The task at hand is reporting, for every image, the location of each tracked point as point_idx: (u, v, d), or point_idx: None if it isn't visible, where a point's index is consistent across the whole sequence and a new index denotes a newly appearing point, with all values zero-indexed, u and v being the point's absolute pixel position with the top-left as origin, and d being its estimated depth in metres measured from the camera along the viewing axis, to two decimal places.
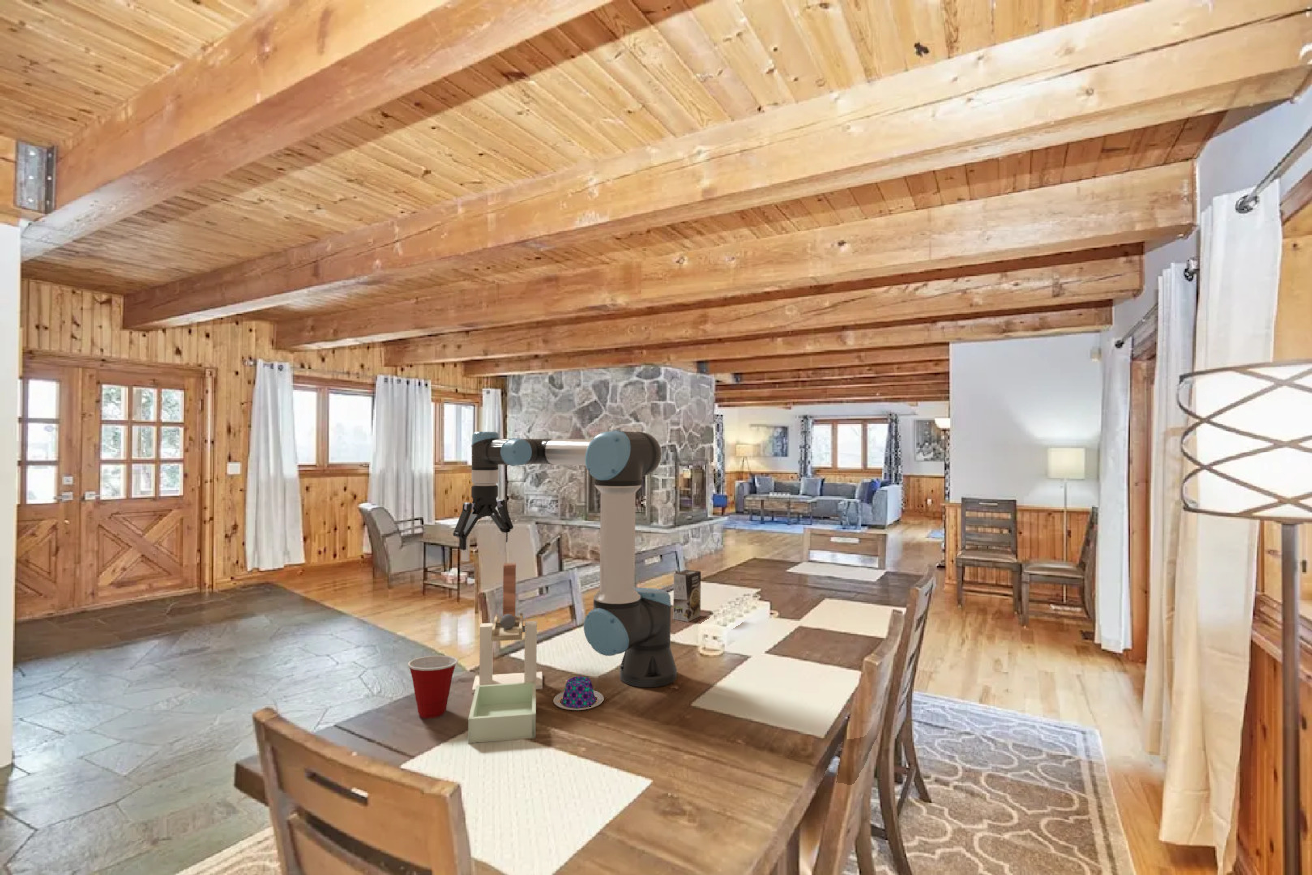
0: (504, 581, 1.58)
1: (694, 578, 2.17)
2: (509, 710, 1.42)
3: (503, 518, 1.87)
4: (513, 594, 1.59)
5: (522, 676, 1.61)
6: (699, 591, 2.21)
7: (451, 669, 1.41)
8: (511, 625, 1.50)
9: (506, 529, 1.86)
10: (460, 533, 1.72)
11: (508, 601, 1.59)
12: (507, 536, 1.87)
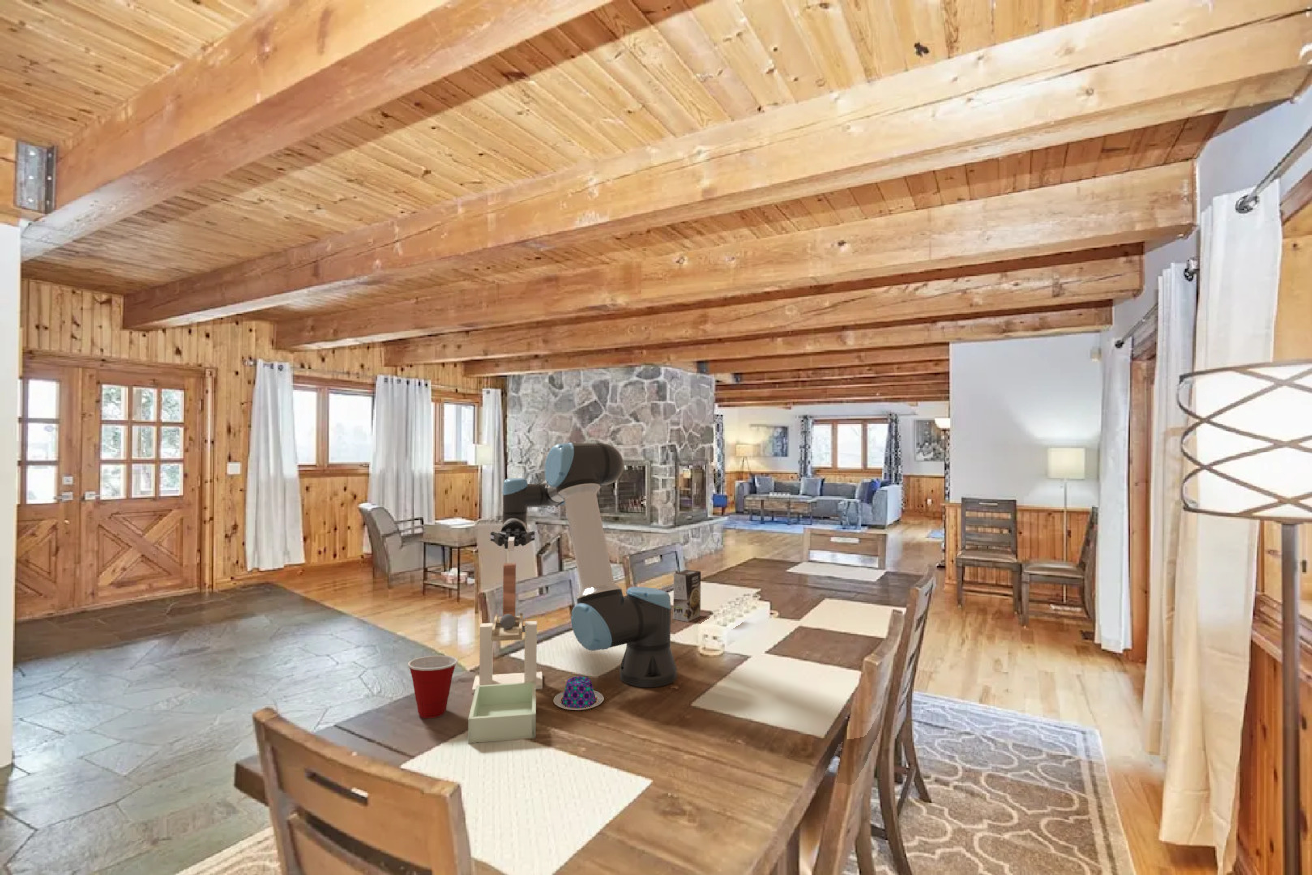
0: (504, 581, 1.58)
1: (694, 578, 2.17)
2: (509, 710, 1.42)
3: None
4: (513, 594, 1.59)
5: (522, 676, 1.61)
6: (699, 591, 2.21)
7: (451, 669, 1.41)
8: (511, 625, 1.50)
9: None
10: (499, 536, 1.73)
11: (508, 601, 1.59)
12: (518, 539, 1.71)
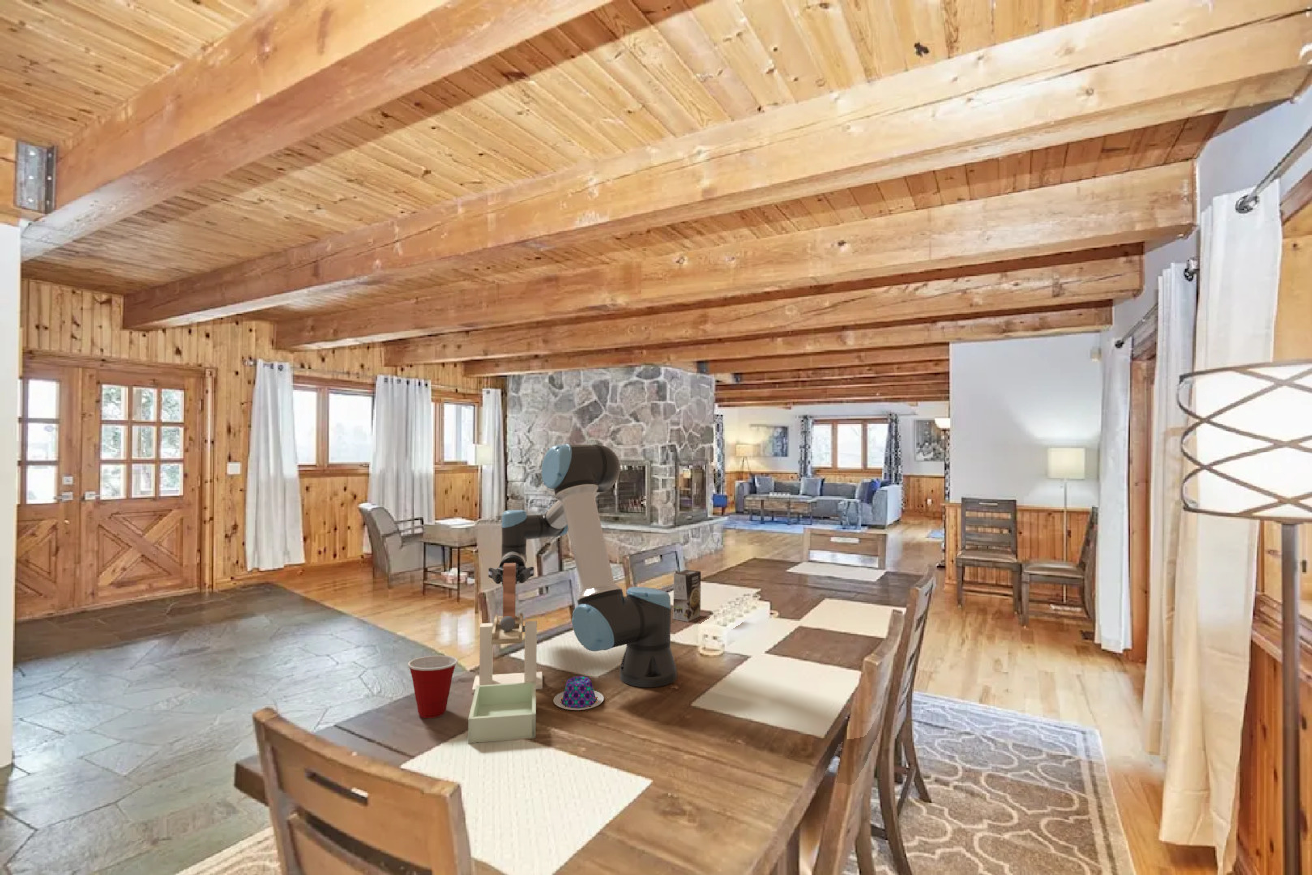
0: (504, 582, 1.58)
1: (694, 578, 2.17)
2: (509, 710, 1.42)
3: None
4: (513, 594, 1.58)
5: (522, 676, 1.61)
6: (699, 591, 2.21)
7: (451, 669, 1.41)
8: (511, 627, 1.50)
9: None
10: (497, 573, 1.69)
11: (508, 601, 1.58)
12: (516, 577, 1.67)
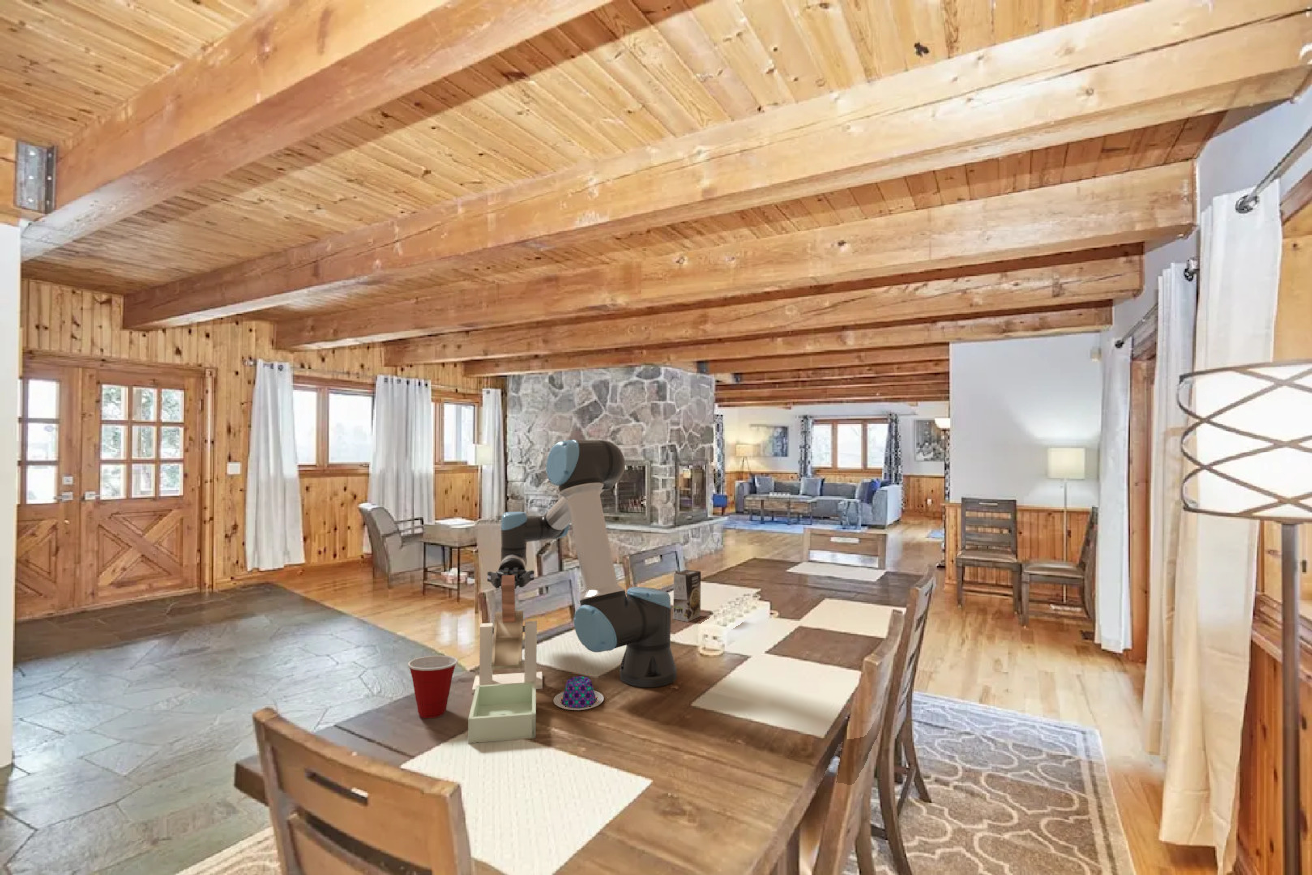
0: (502, 596, 1.51)
1: (694, 578, 2.17)
2: (509, 710, 1.42)
3: None
4: (512, 605, 1.54)
5: (522, 676, 1.61)
6: (699, 591, 2.21)
7: (451, 669, 1.41)
8: None
9: None
10: (496, 578, 1.63)
11: (507, 609, 1.54)
12: (516, 581, 1.61)
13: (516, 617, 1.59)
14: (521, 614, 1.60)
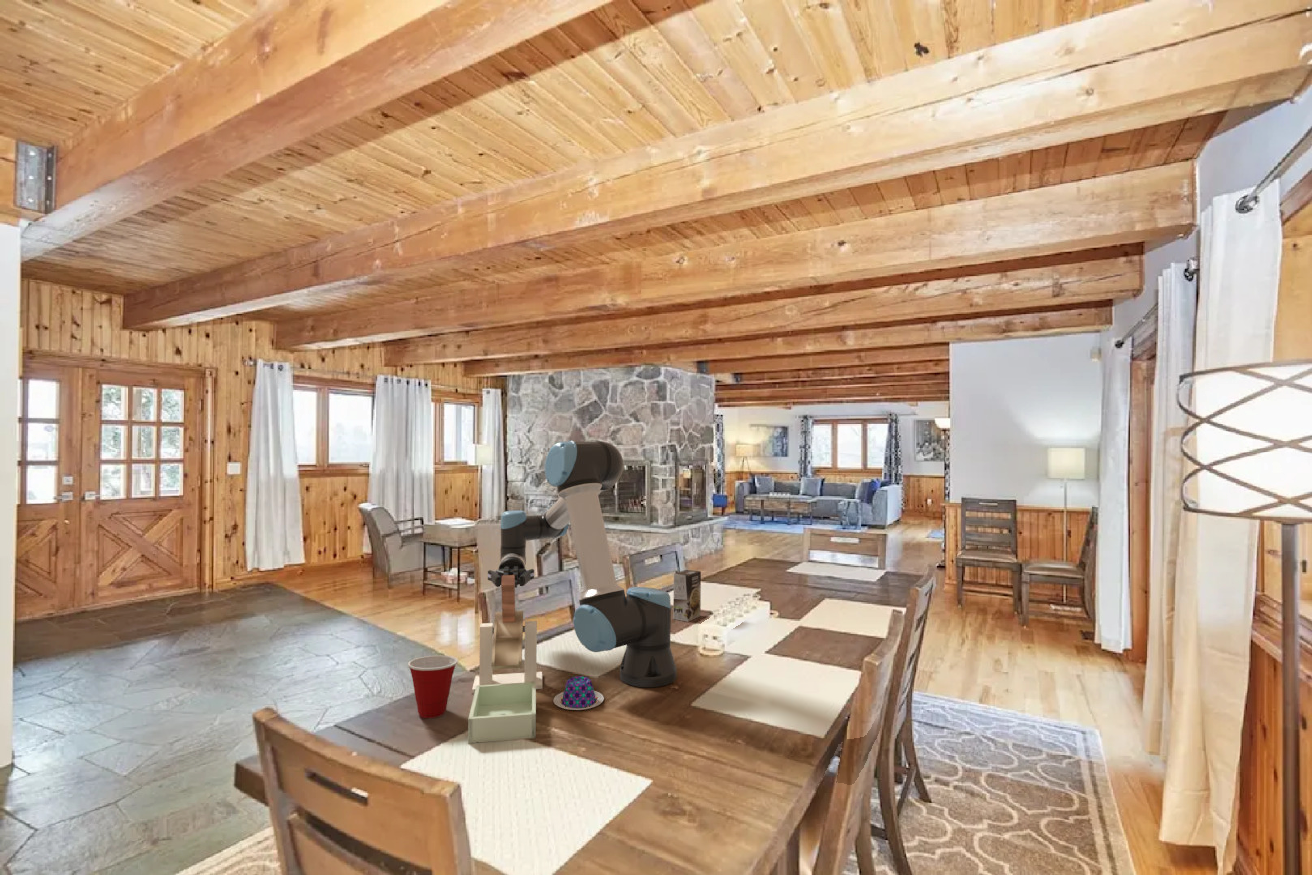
0: (502, 596, 1.51)
1: (694, 578, 2.17)
2: (509, 710, 1.42)
3: None
4: (512, 605, 1.54)
5: (522, 676, 1.61)
6: (699, 591, 2.21)
7: (451, 669, 1.41)
8: None
9: None
10: (497, 576, 1.65)
11: (507, 609, 1.54)
12: (516, 580, 1.63)
13: (516, 617, 1.59)
14: (521, 614, 1.60)
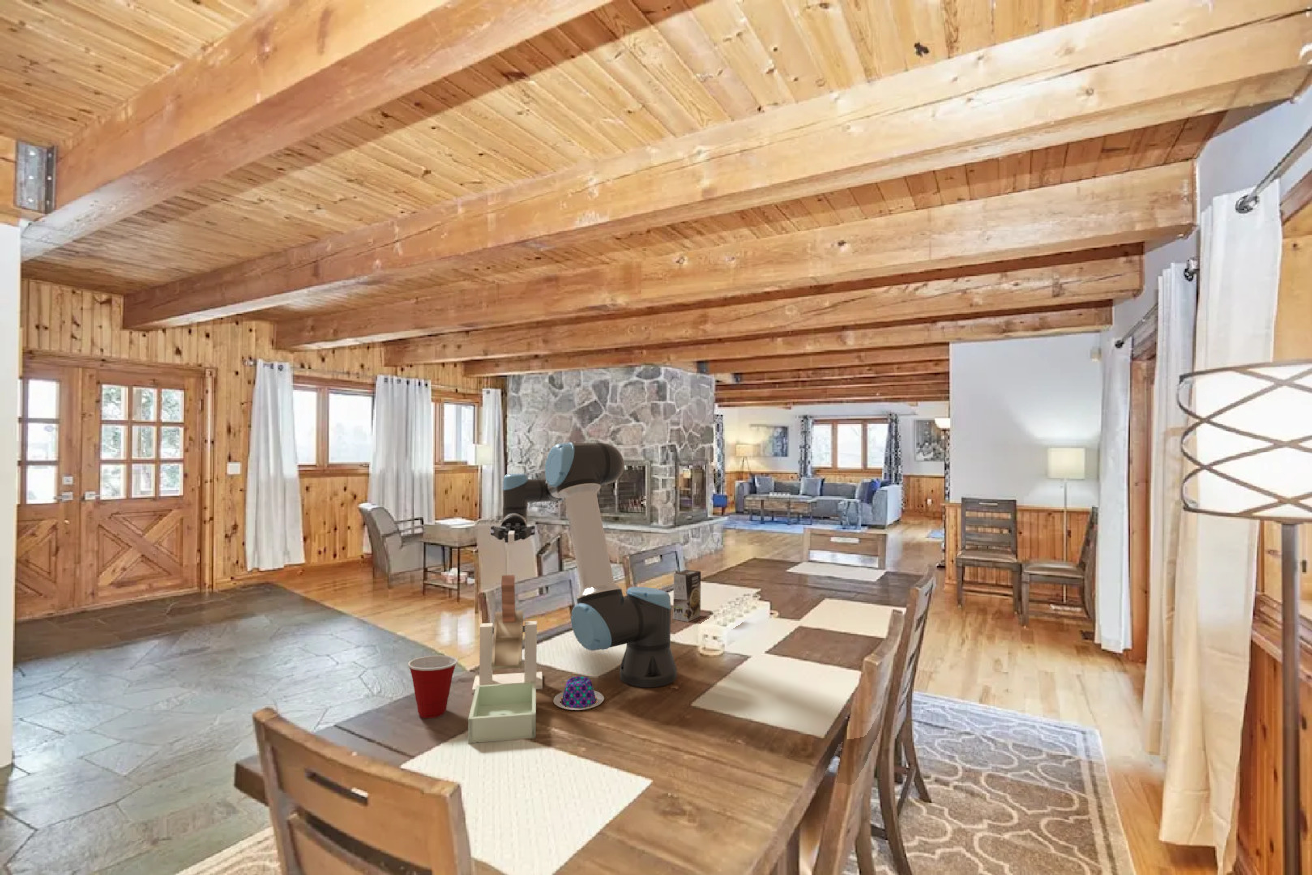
0: (502, 596, 1.51)
1: (694, 578, 2.17)
2: (509, 710, 1.42)
3: None
4: (512, 605, 1.54)
5: (522, 676, 1.61)
6: (699, 591, 2.21)
7: (451, 669, 1.41)
8: None
9: None
10: (499, 530, 1.73)
11: (507, 609, 1.54)
12: (518, 533, 1.71)
13: (516, 617, 1.59)
14: (521, 614, 1.60)
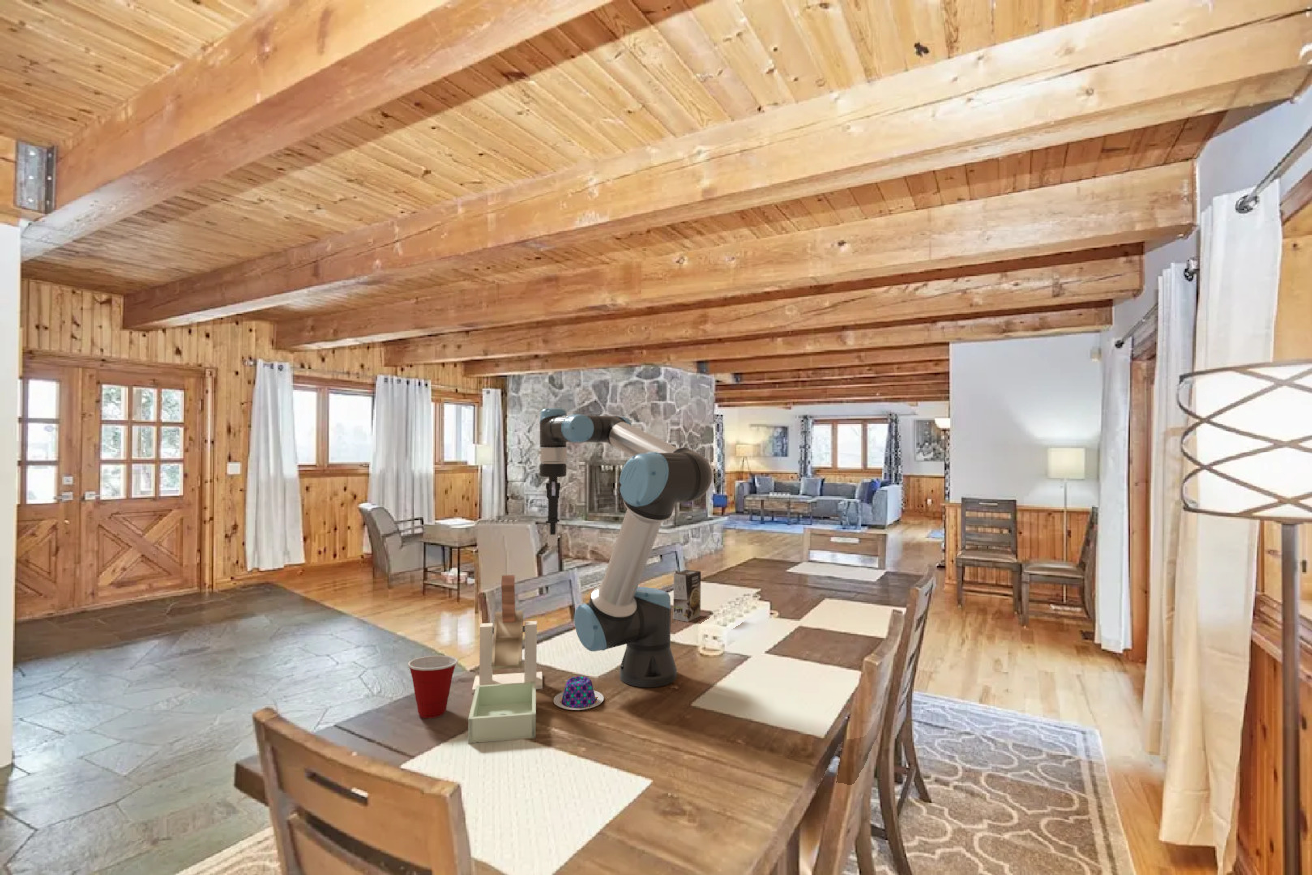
0: (502, 596, 1.51)
1: (694, 578, 2.17)
2: (509, 710, 1.42)
3: None
4: (512, 605, 1.54)
5: (522, 676, 1.61)
6: (699, 591, 2.21)
7: (451, 669, 1.41)
8: None
9: None
10: (557, 518, 1.74)
11: (507, 609, 1.54)
12: None
13: (516, 617, 1.59)
14: (521, 614, 1.60)
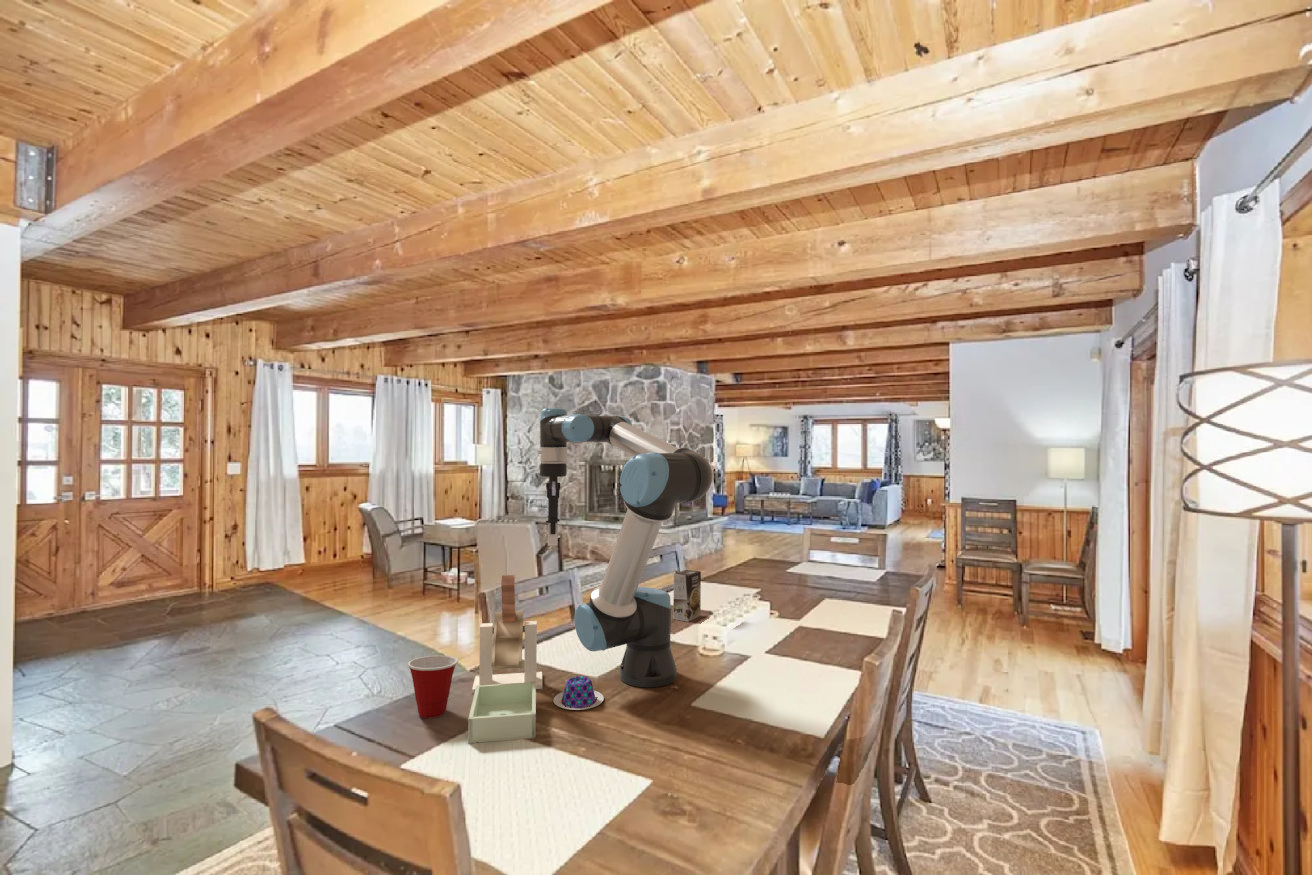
0: (502, 596, 1.51)
1: (694, 578, 2.17)
2: (509, 710, 1.42)
3: None
4: (512, 605, 1.54)
5: (522, 676, 1.61)
6: (699, 591, 2.21)
7: (451, 669, 1.41)
8: None
9: None
10: (557, 518, 1.74)
11: (507, 609, 1.54)
12: None
13: (516, 617, 1.59)
14: (521, 614, 1.60)
